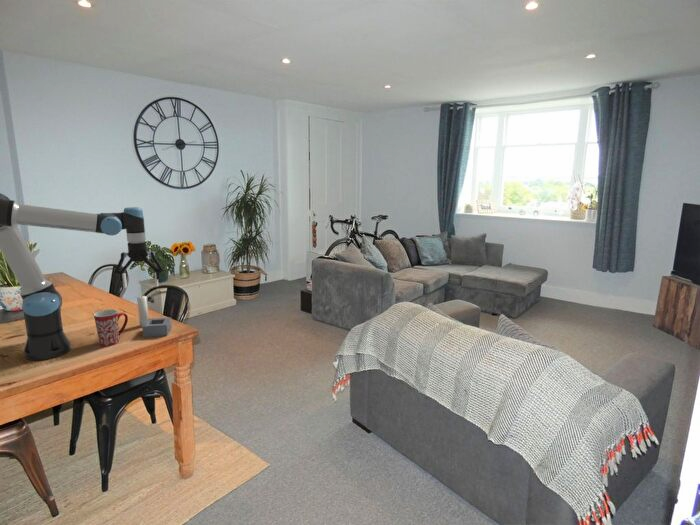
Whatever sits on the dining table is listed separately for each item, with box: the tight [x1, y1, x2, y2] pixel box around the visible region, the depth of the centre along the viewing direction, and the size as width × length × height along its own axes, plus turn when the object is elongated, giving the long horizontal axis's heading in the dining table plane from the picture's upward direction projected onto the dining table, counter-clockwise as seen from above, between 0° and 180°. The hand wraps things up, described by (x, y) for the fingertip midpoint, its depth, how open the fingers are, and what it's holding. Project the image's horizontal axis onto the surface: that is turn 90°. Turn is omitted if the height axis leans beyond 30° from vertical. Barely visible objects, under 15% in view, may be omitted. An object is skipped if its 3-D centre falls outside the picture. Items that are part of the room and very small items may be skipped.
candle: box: [136, 295, 150, 328], centre depth 198 cm, size 4×4×15 cm
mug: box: [93, 309, 129, 347], centre depth 179 cm, size 13×9×14 cm
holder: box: [141, 317, 173, 338], centre depth 191 cm, size 10×10×5 cm
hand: (141, 286), depth 195 cm, fingers open, 13 cm apart
